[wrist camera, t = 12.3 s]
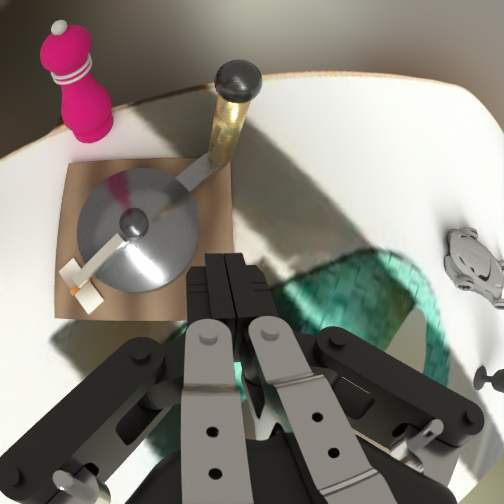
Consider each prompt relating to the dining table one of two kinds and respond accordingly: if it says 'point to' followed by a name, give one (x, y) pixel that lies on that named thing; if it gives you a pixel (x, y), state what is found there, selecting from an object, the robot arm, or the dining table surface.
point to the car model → (474, 266)
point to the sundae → (489, 379)
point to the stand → (115, 301)
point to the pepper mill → (77, 82)
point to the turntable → (160, 202)
